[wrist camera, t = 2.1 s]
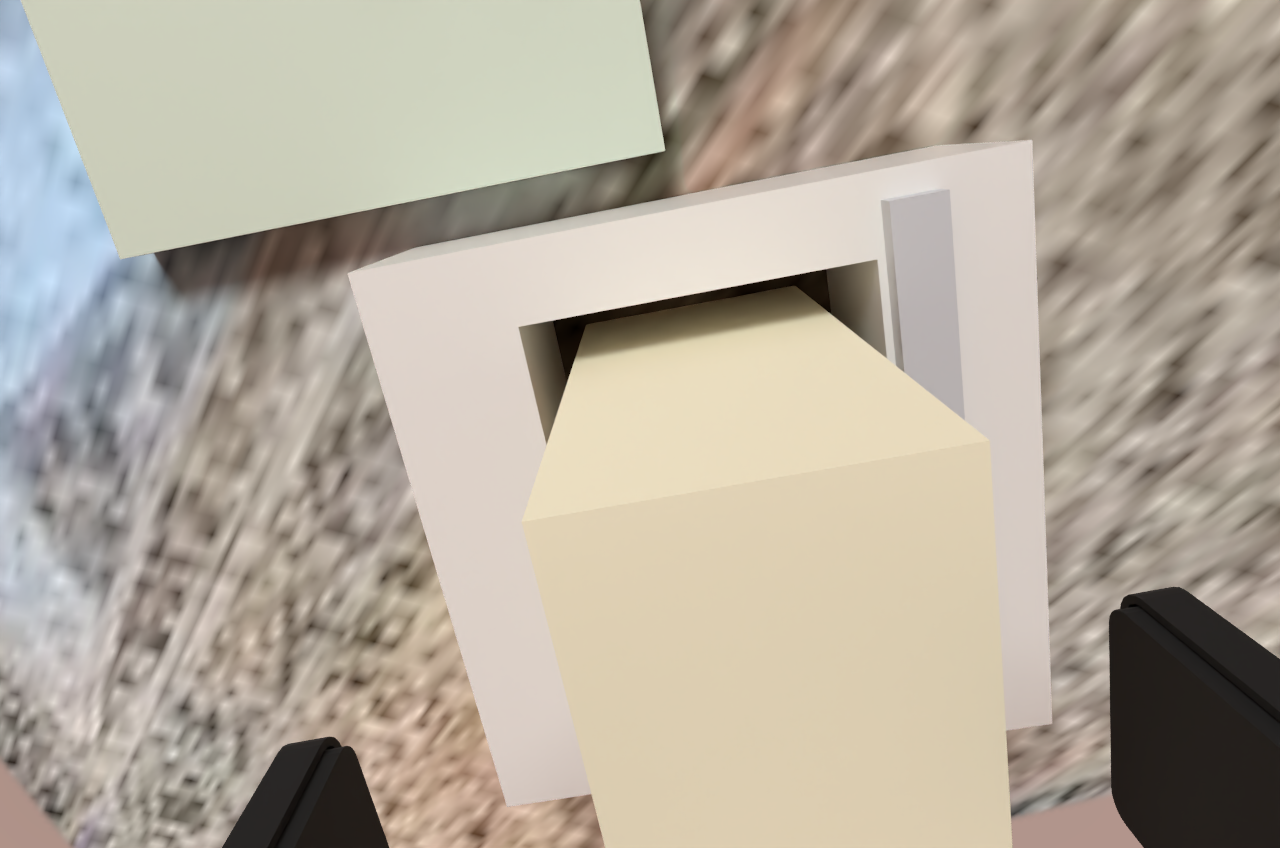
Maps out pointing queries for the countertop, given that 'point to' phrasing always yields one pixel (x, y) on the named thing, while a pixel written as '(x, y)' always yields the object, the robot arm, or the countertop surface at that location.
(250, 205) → the pad
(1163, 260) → the countertop surface
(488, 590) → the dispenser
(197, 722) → the countertop surface
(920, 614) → the cream rectangular block
